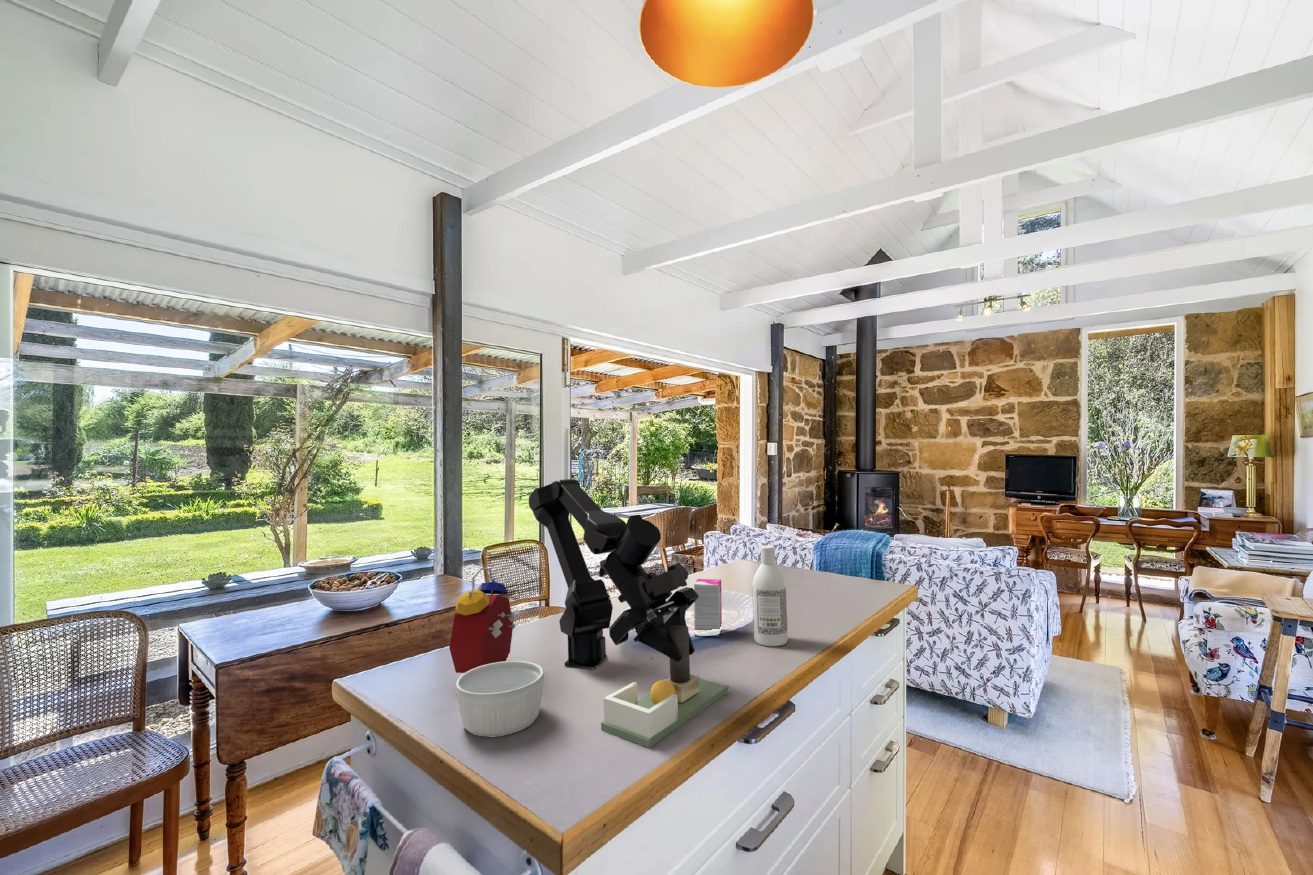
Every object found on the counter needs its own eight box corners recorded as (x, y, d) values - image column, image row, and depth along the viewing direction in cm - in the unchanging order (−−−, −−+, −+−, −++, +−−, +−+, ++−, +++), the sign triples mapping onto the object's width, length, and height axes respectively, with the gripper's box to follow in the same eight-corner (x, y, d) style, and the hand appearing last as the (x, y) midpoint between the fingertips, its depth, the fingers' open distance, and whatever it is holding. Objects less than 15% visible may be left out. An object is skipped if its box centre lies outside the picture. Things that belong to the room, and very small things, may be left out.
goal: (603, 721, 83) (603, 697, 83) (634, 703, 89) (633, 681, 89) (650, 738, 78) (649, 713, 78) (679, 718, 83) (678, 695, 83)
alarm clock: (485, 658, 113) (483, 559, 114) (526, 659, 112) (523, 559, 112) (449, 689, 98) (446, 576, 99) (495, 691, 97) (493, 576, 98)
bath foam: (793, 645, 115) (790, 548, 116) (762, 648, 114) (758, 550, 114) (779, 634, 122) (775, 543, 123) (749, 637, 121) (746, 545, 121)
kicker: (661, 696, 90) (659, 629, 90) (679, 685, 94) (677, 621, 94) (681, 702, 88) (679, 634, 88) (699, 691, 92) (697, 625, 92)
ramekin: (475, 702, 93) (474, 660, 94) (553, 700, 93) (552, 658, 93) (442, 743, 80) (441, 694, 80) (533, 742, 80) (531, 693, 80)
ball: (666, 701, 90) (650, 713, 87) (657, 677, 90) (641, 688, 87) (684, 698, 87) (669, 711, 84) (674, 673, 88) (659, 685, 85)
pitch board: (601, 729, 83) (601, 722, 83) (684, 679, 100) (684, 674, 100) (648, 747, 77) (648, 740, 77) (728, 691, 94) (728, 685, 94)
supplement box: (720, 637, 121) (719, 584, 122) (693, 636, 123) (692, 584, 123) (723, 629, 127) (721, 578, 127) (697, 628, 128) (695, 578, 129)
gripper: (620, 559, 86) (681, 644, 79) (687, 541, 101) (744, 612, 94) (585, 603, 91) (640, 687, 84) (654, 580, 106) (706, 650, 99)
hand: (686, 656), depth 90 cm, fingers closed on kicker, 3 cm apart
